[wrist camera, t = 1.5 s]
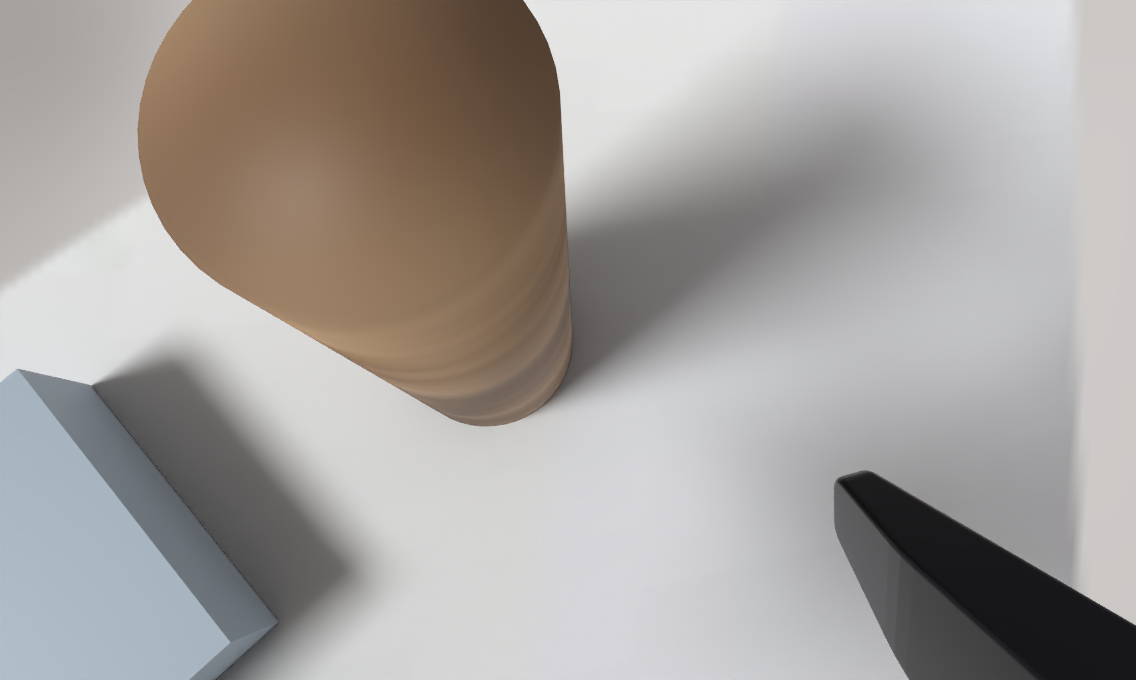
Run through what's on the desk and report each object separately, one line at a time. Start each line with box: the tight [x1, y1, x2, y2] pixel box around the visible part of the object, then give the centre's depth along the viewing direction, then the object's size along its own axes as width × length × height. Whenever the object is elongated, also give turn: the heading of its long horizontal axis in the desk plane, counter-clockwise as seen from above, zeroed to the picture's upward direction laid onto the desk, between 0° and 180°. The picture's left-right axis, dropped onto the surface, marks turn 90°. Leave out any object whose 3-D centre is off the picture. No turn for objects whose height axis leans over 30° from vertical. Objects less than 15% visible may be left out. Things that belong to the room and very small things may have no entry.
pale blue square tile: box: [0, 369, 278, 680], centre depth 20 cm, size 9×9×3 cm
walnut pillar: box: [138, 0, 572, 426], centre depth 16 cm, size 5×5×14 cm
